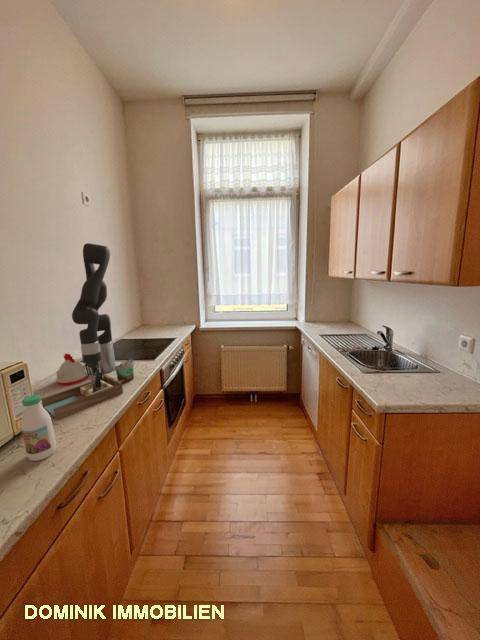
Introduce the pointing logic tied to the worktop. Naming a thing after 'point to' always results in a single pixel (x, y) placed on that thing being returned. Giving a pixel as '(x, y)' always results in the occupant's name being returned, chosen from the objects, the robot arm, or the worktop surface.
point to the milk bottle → (37, 429)
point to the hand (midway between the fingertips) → (96, 386)
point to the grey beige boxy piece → (93, 387)
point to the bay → (79, 398)
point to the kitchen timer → (71, 372)
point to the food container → (125, 371)
